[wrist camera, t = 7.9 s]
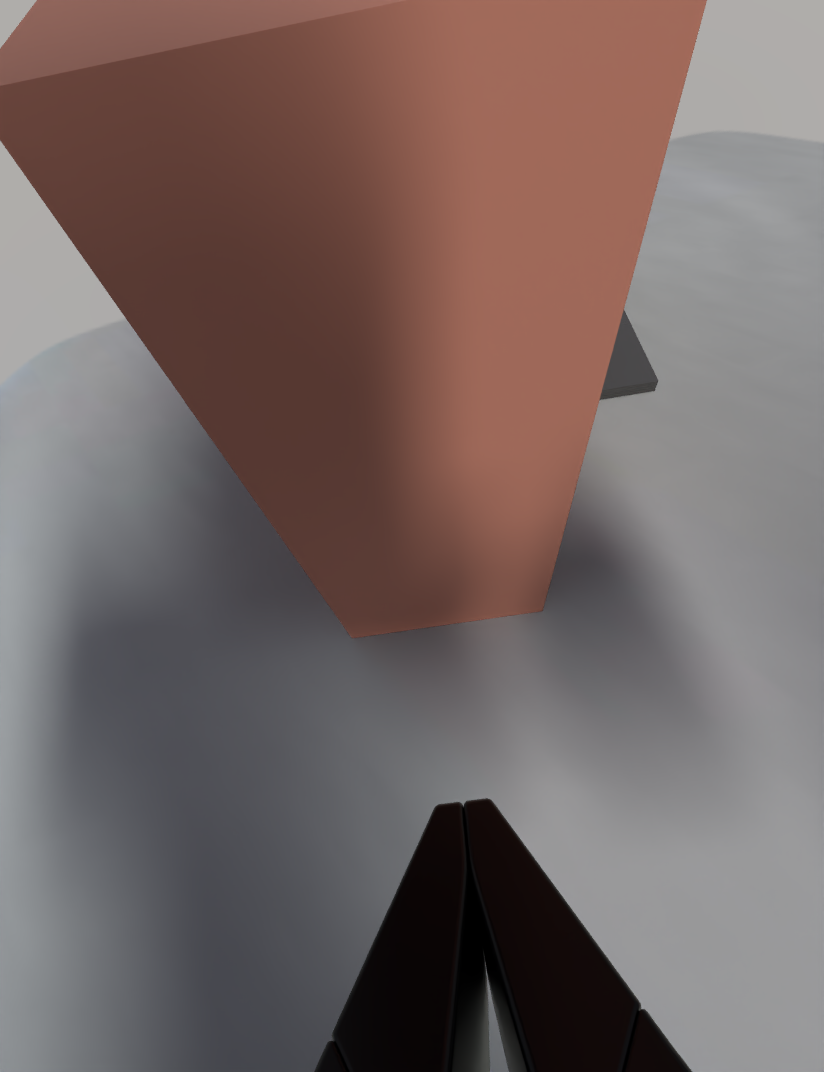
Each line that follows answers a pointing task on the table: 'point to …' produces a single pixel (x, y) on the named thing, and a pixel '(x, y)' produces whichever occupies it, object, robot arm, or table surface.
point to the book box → (368, 254)
